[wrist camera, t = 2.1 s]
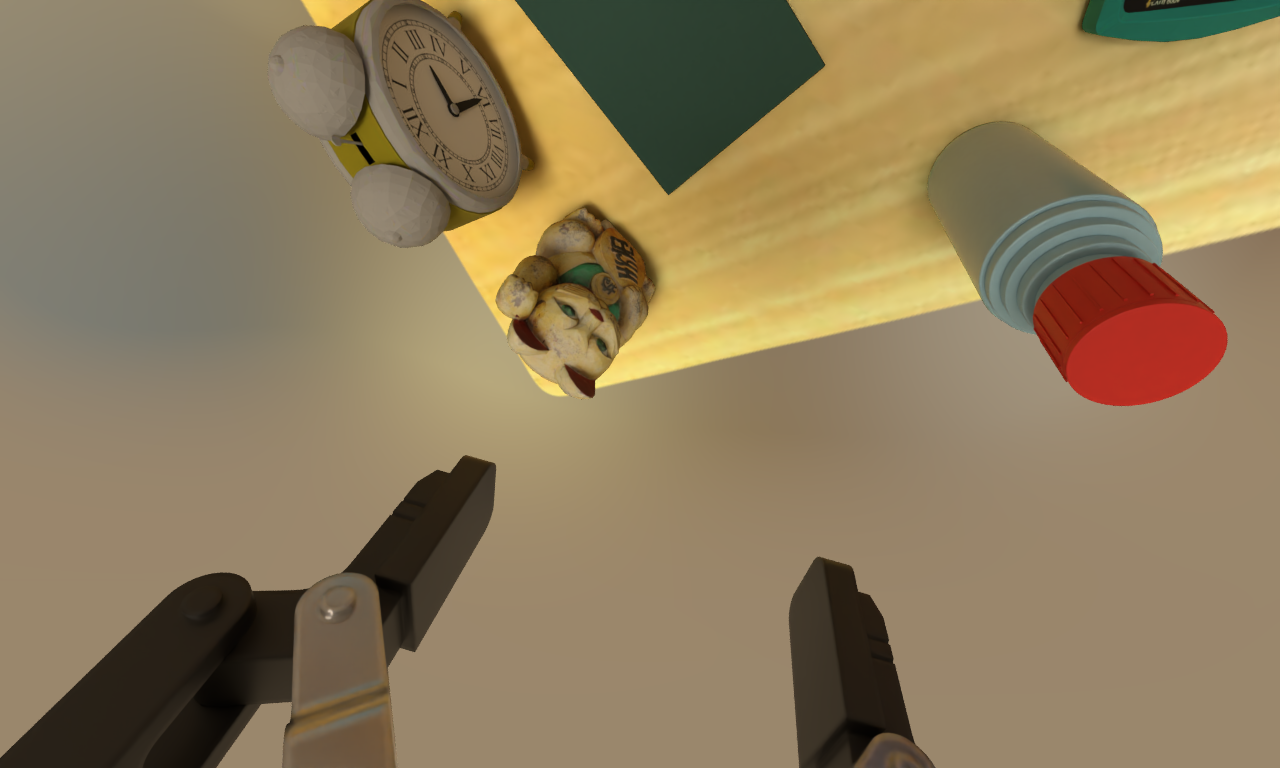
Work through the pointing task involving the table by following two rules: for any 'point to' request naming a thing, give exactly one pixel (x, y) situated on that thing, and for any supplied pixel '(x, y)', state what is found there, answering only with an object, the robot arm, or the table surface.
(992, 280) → the bottle
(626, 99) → the mat
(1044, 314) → the cap
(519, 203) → the table surface
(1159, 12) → the digital multimeter
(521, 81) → the table surface
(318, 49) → the alarm clock
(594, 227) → the decorative figurine
